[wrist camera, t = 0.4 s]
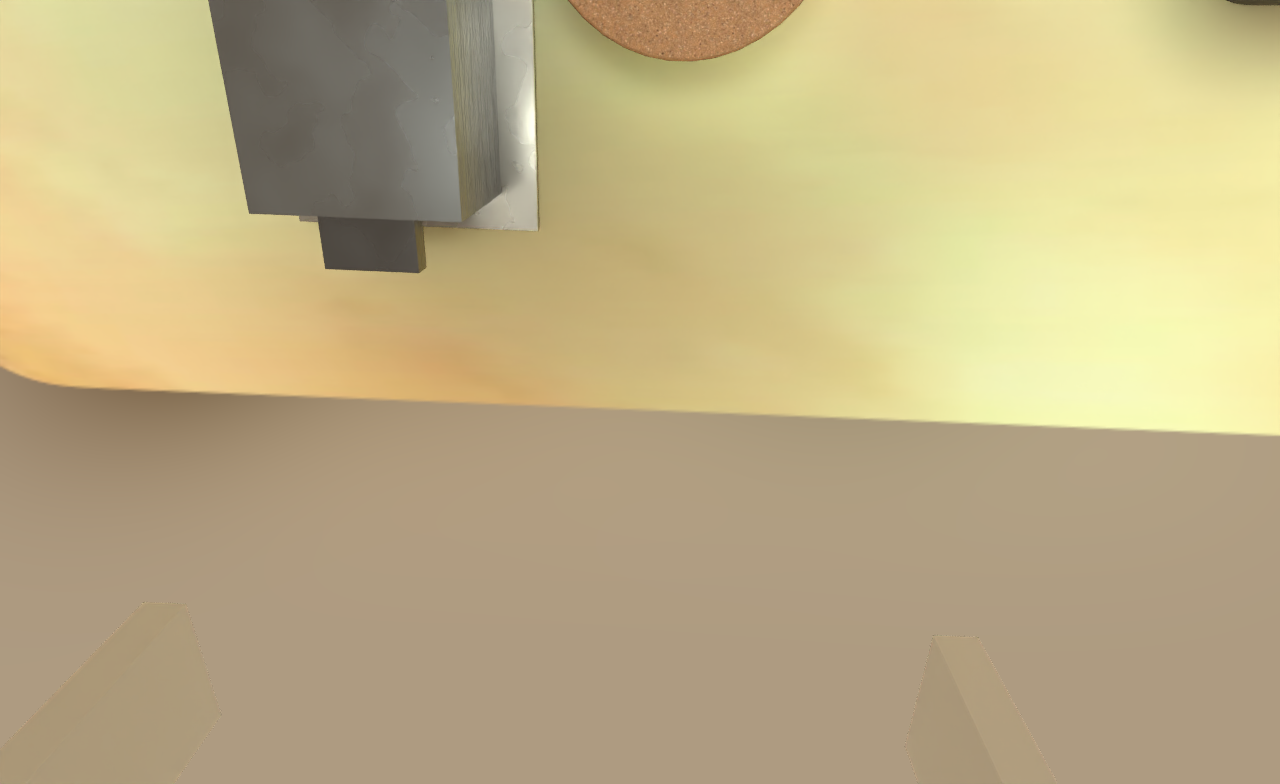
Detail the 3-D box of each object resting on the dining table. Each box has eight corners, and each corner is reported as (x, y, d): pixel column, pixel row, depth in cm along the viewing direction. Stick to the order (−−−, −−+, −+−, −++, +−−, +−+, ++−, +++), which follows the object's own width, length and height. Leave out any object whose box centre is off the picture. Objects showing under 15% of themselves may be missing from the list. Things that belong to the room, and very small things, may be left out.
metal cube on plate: (256, -76, 31) (133, -120, 24) (532, -66, 30) (491, -108, 23) (305, 232, 36) (218, 270, 29) (539, 242, 36) (508, 283, 29)
